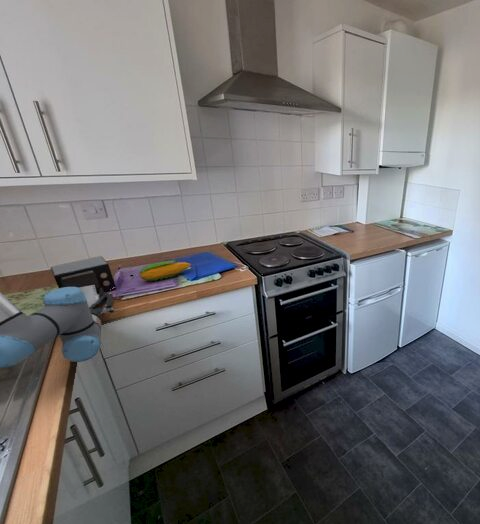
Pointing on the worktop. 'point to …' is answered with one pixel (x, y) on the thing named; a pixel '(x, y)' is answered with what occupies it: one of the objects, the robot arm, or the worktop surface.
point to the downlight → (90, 294)
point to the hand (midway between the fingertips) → (89, 293)
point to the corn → (162, 270)
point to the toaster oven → (84, 274)
